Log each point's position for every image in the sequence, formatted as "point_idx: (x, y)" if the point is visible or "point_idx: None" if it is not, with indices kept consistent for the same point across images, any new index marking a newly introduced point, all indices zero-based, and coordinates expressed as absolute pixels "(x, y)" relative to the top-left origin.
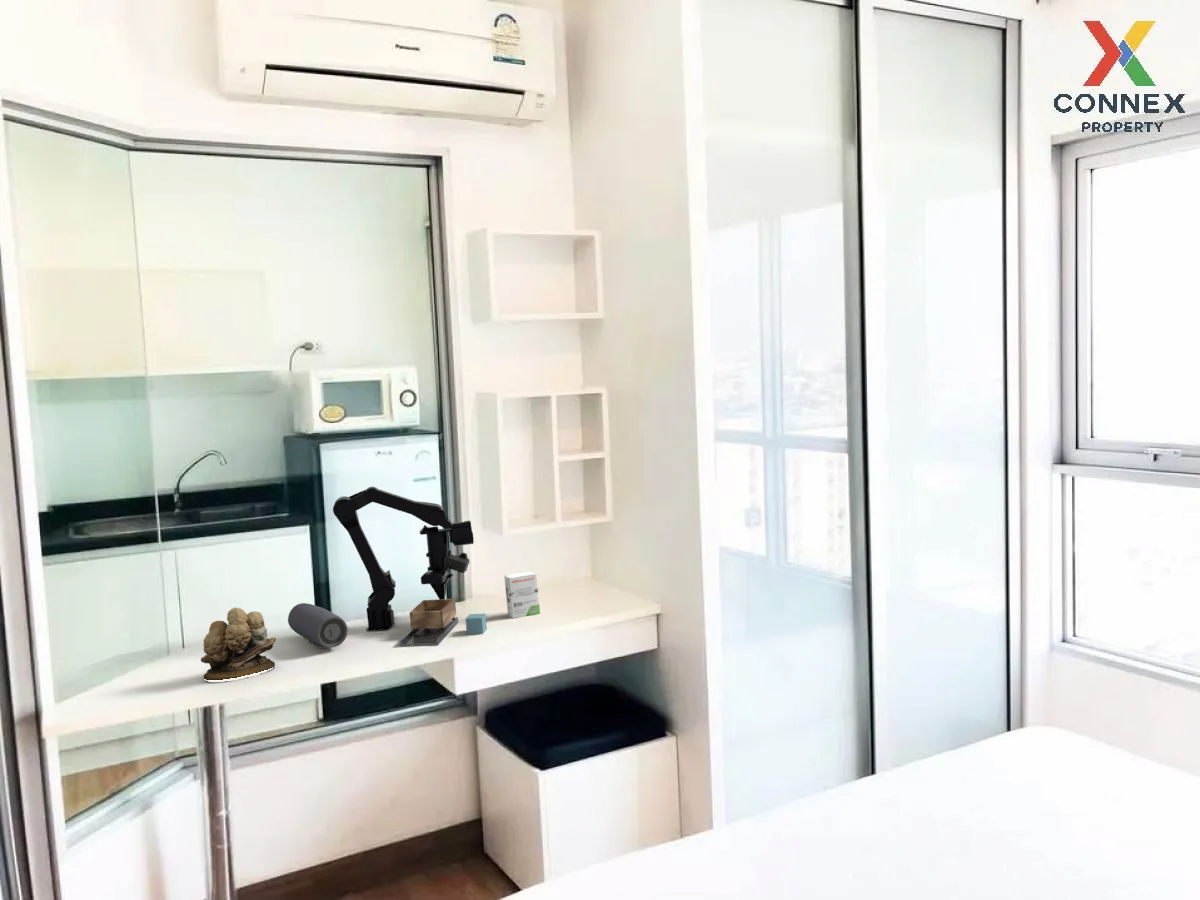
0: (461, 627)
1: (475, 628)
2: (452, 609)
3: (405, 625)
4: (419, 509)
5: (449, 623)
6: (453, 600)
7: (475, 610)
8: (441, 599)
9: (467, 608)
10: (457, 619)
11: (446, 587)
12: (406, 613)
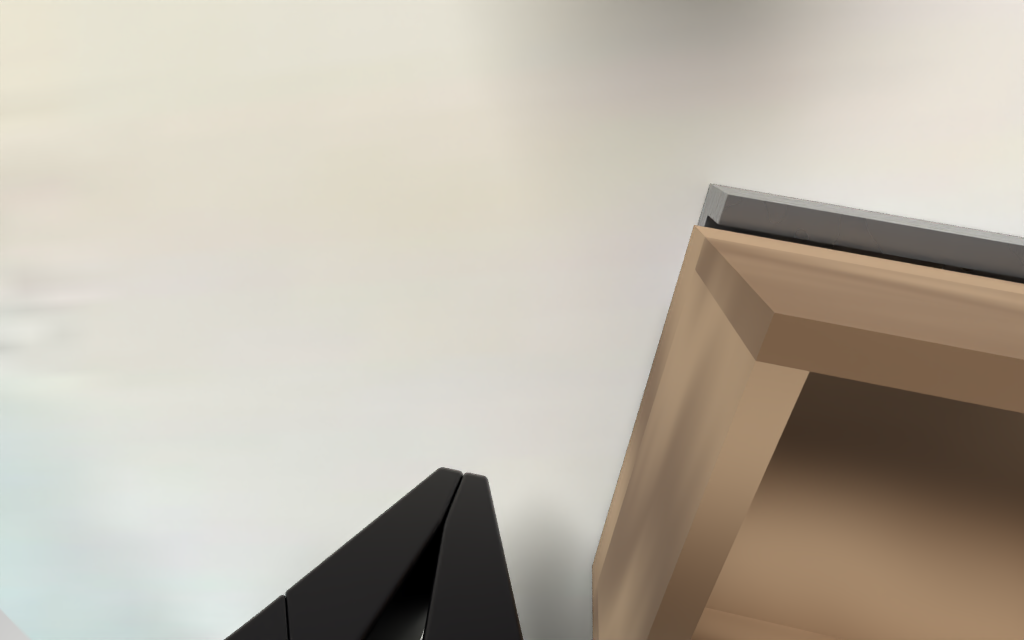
0: (992, 118)
1: None
2: (962, 301)
3: (589, 635)
4: None
5: None
6: (917, 336)
7: (181, 5)
8: (689, 569)
9: (96, 129)
10: (757, 197)
11: (286, 630)
12: (239, 621)
